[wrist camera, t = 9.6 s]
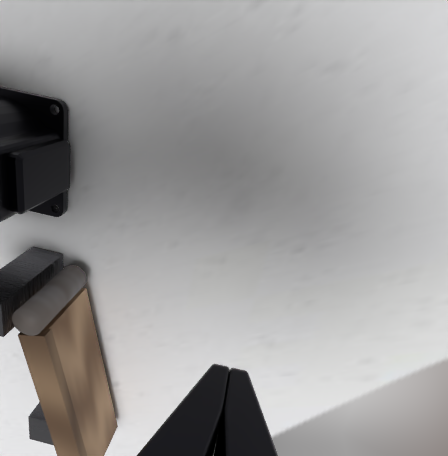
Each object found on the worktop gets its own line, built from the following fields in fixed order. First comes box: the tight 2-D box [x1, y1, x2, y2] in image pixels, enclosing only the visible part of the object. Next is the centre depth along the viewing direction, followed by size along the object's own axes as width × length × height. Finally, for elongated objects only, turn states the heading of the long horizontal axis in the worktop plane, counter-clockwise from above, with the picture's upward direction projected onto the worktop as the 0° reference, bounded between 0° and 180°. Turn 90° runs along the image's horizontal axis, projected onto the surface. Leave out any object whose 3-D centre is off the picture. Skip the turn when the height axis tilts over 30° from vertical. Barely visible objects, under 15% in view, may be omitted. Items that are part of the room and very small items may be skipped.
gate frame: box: [0, 247, 63, 445], centre depth 22 cm, size 2×12×6 cm, turn 4°
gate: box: [12, 265, 117, 456], centre depth 22 cm, size 14×2×5 cm, turn 3°
